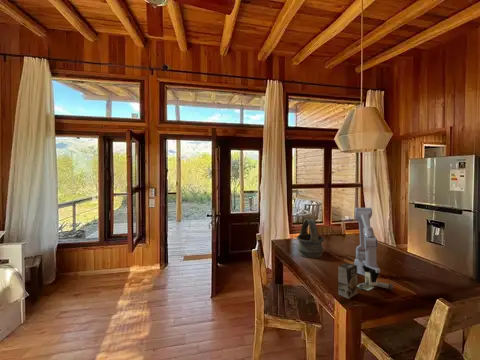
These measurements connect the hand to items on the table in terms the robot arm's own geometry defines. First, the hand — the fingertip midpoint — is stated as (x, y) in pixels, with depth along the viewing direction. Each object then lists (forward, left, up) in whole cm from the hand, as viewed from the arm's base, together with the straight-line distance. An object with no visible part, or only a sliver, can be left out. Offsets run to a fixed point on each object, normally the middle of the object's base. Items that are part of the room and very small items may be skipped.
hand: (371, 280), depth 143 cm
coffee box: (-1, -20, -4) cm, 21 cm away
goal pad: (-1, -4, -3) cm, 6 cm away
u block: (0, 0, -2) cm, 2 cm away
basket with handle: (-59, +14, -4) cm, 61 cm away
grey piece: (+4, -2, -3) cm, 5 cm away
